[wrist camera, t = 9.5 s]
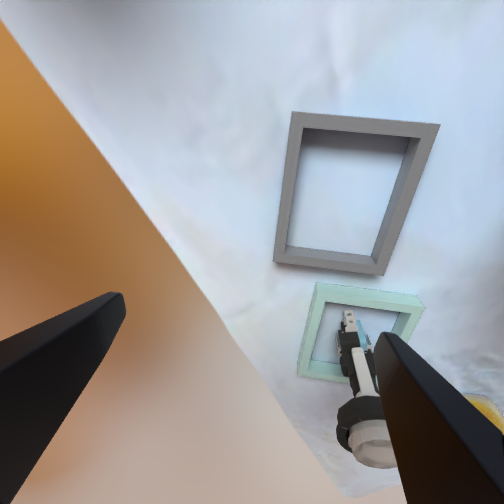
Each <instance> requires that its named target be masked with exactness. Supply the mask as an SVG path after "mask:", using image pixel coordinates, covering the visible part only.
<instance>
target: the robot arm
mask: <svg viewBox="0 0 504 504" xmlns="http://www.w3.org/2000/svg"><path fill="white" fill-rule="evenodd" d="M125 316H126V307H125V302H124V297H123V295H122V293H119V292H108V293H106V294H103V295H101V296H99V297H97V298H94V299H92V300H90V301H88V302H86V303H84V304H81V305H79V306H77V307H75V308H72V309H70V310H68V311H66V312H64V313H62V314H59V315H57V316H55V317H53V318H51V319H48V320H46V321H44V322H42V323H40V324H37V325H35V326H33V327H31V328H29V329H26V330H24V331H22V332H20V333H18V334H15V335H13V336H11V337H9V338H7V339H4V340H2V341H0V504H10V503H11V502H12V500H13V499H14V497H15V495H16V494H17V492H18V491H19V489H20V488H21V486H22V485H23V483H24V481H25V480H26V478H27V477H28V475H29V474H30V472H31V470H32V469H33V467H34V466H35V464H36V463H37V461H38V460H39V458H40V457H41V455H42V453H43V452H44V450H45V449H46V447H47V446H48V444H49V443H50V441H51V439H52V438H53V436H54V435H55V433H56V432H57V430H58V429H59V427H60V425H61V424H62V422H63V421H64V419H65V417H66V416H67V415H68V413H69V411H70V410H71V408H72V407H73V405H74V404H75V402H76V400H77V399H78V397H79V396H80V394H81V393H82V391H83V390H84V388H85V387H86V385H87V383H88V382H89V380H90V379H91V377H92V375H93V374H94V373H95V371H96V369H97V368H98V366H99V365H100V363H101V362H102V360H103V358H104V357H105V355H106V353H107V351H108V350H109V348H110V346H111V344H112V342H113V340H114V338H115V336H116V334H117V332H118V330H119V328H120V326H121V324H122V322H123V320H124V318H125ZM373 355H374V362H375V369H376V376H377V382H378V389H379V395H380V401H381V405H382V409H383V413H384V417H385V421H386V425H387V428H388V432H389V436H390V440H391V444H392V447H393V451H394V455H395V459H396V463H397V466H398V470H399V474H400V478H401V482H402V485H403V489H404V493H405V497H406V500H407V504H504V434H503V433H502V431H501V430H500V429H499V428H498V427H496V426H495V425H494V424H493V423H492V422H491V421H490V420H489V419H488V418H487V417H486V416H485V415H483V414H482V413H481V412H480V411H479V410H478V409H477V408H476V407H475V406H474V405H473V404H472V403H470V402H469V401H468V400H467V399H466V398H465V397H464V396H463V395H462V394H461V393H460V392H459V391H457V390H456V389H455V388H454V387H453V386H452V385H451V384H450V383H449V382H448V381H447V380H446V379H444V378H443V377H442V376H441V375H440V374H439V373H438V372H437V371H436V370H435V369H434V368H433V367H431V366H430V365H429V364H428V363H427V362H426V361H425V360H424V359H423V358H422V357H421V356H420V355H419V354H417V353H416V352H415V351H414V350H413V349H412V348H411V347H410V346H409V345H408V344H407V343H406V342H404V341H403V340H402V339H401V338H400V337H399V336H398V335H397V334H395V333H391V332H382V333H381V334H380V336H379V338H378V340H377V343H376V345H375V347H374V352H373Z"/></svg>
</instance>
